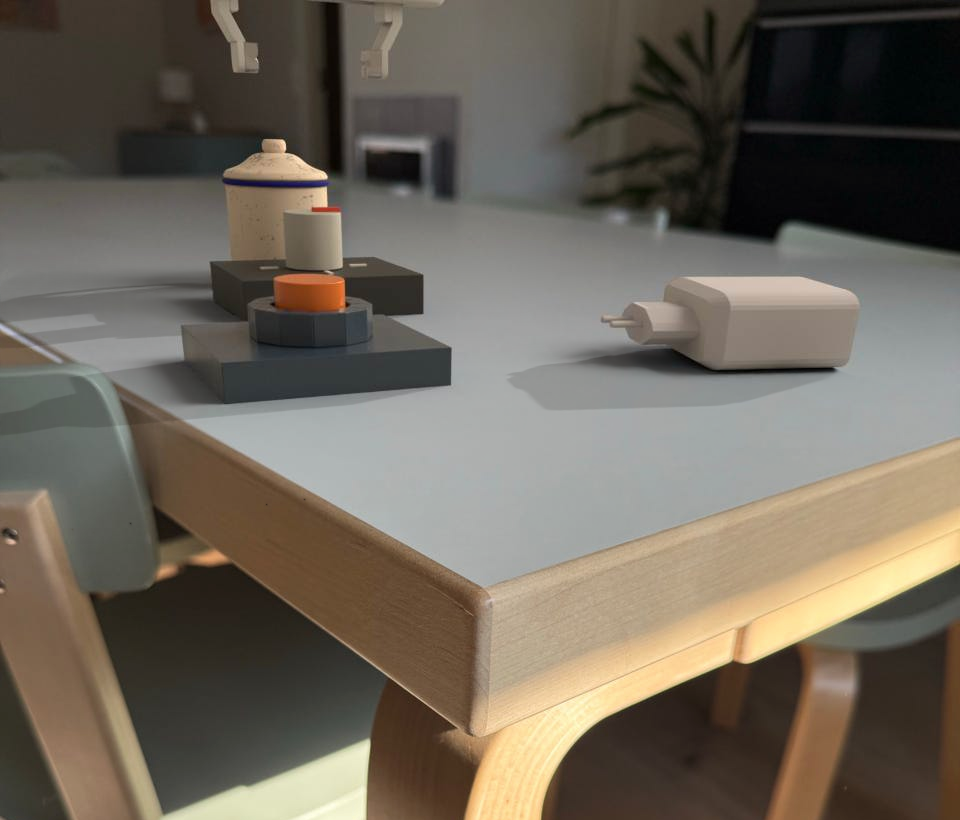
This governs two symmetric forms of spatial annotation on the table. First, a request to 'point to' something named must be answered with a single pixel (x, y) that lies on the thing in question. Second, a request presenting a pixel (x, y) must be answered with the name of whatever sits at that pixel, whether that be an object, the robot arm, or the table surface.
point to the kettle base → (363, 275)
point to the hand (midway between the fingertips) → (312, 76)
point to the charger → (748, 322)
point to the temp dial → (313, 238)
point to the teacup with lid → (268, 199)
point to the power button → (309, 292)
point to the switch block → (312, 353)
